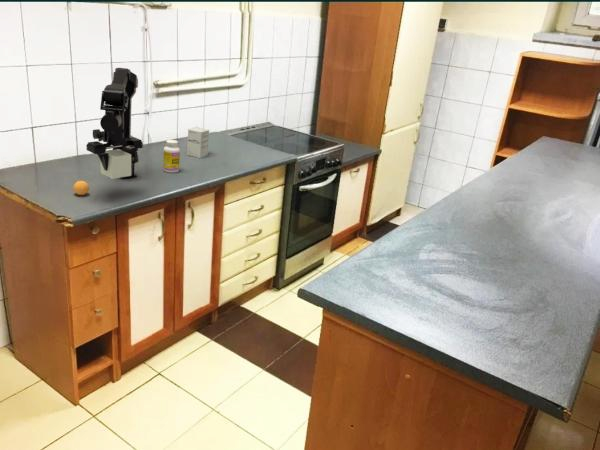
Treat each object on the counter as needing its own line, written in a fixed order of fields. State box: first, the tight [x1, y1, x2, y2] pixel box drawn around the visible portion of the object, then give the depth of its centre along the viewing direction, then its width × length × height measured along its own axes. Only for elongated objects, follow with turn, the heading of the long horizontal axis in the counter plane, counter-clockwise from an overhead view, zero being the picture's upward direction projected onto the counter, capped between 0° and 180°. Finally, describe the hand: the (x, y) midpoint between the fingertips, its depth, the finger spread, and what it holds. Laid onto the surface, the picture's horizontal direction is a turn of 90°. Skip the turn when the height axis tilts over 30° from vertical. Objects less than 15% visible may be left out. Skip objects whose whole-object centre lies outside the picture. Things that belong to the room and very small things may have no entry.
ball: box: [73, 180, 90, 196], centre depth 182 cm, size 5×5×5 cm
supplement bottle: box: [162, 139, 181, 174], centre depth 216 cm, size 7×7×13 cm
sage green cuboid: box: [99, 149, 131, 180], centre depth 182 cm, size 8×8×8 cm
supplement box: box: [186, 126, 210, 159], centre depth 242 cm, size 7×7×13 cm
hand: (115, 168), depth 183 cm, fingers closed on sage green cuboid, 7 cm apart
